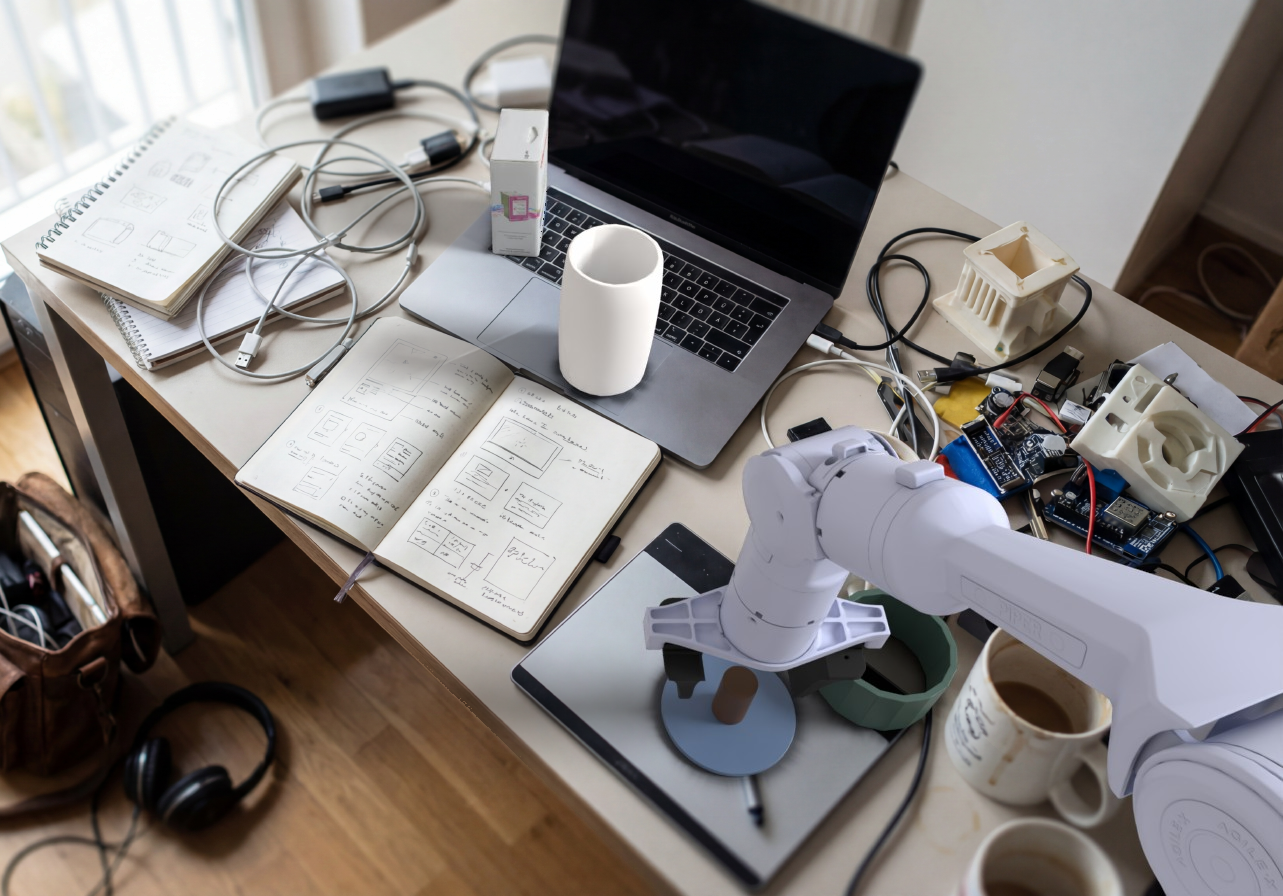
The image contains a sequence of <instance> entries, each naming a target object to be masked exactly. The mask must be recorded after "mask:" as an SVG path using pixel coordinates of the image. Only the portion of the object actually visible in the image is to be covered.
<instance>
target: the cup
mask: <svg viewBox="0 0 1283 896" xmlns="http://www.w3.org/2000/svg"><path fill="white" fill-rule="evenodd" d="M564 261H565V262H564V267H563V272H562V278H561V285H560V294H559V308H558V309H559V310H558V362H559V370H560V372H561V375H562V377H563V378H564V379H565V380H566V381H567V382H568V384H569V385H571V386H572V387H574V388H575V389H577V390H579V391H582V392H584V393H587V394H589V395H593V396H598V397H608V396H609V397H610V396H615V395H619V394H620V395H621V394H624V393H625V392H627V391H630V390H631V389H633V388H634V387H636V386H637V385H638V384H639V383H641V381H642V378H643V377H644V375H645V371H646V368H647V364H648V361H649V356H650V352H651V349H652V345H653V339H654V336H655V330H656V325H657V319H658V315H659V309H660V303H661V297H662V286H663V275H664V274H663V273H664V256H663V251H662V248H661V246H660V245H659V243H658V242H657V241H656V240H655V239H654V238H652V237H651V236H650V235H649V234H647V233H645V232H644V231H643V230H640V229H638V228H636V227H632V226H628V225H623V224H617V223H613V224H612V223H611V224H602V225H597V226H592V227H590V228H588V229H586V230H583V231H582V232H580V233H578V234H577V235H576V236H574V238H572V240H571V241H570V243H569V245H568V247H567V251H566V256H565V260H564Z"/></svg>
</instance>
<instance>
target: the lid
mask: <svg viewBox="0 0 1283 896" xmlns="http://www.w3.org/2000/svg"><path fill="white" fill-rule="evenodd" d="M702 660H703V667H704V673H705V680H706V681H700V682H699V683H697V685H696V686H695V688H694V691H693V694H692V697H691V698H690V699H680V698H679V697H678V691H677V684H676V683H675V682H674V681H669V680H668V678H667V679H666V681H665V683H664V686H663V689H662V692H661V693H662V694H661V701H660V711H661V717H662V722H663V725H664V728H665V730H666V732H667V734H668V736H669V738H670V739H671V741H672V743H673V744H674V745H675V747H676V748H677V749H678V751H679V752H680V753H682V754H683V756H685V758H687V759H688V760H689V761H690V762H692V763H693V764H695V765H697V766H698V767H700V768H702V769H704V770H706V771H708V772H711V773H714V774H716V775H721V776H726V777H735V778H736V777H748V776H749V777H750V776H753V775H757V774H760V773H763V772H765V771H766V770H768V769H770V768H772V767H773V766H774V765H776V764H777V763H778V762H779V761H780V760H781V759H782V758H783V757H784V756H785V754H786V753H787V751H788V750H789V749H790V746H791V744H792V742H793V740H794V736H795V732H796V727H797V720H796V719H797V716H796V709H795V705H794V701H793V698H792V697H791V694H790V691H789V690H788V688H787V687H786V685H785V683H784V682H783V680H782V678H780V677H779V676H778V675H777V674H776V672H770V671H762V670H758V669H754V668H751V667H748V666H745V665H742V664H738V663H735V662H732V661H729V660H725V659H722V658H719V657H716V656H713V655H709V654H706V653H703V654H702Z"/></svg>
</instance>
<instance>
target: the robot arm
mask: <svg viewBox="0 0 1283 896" xmlns="http://www.w3.org/2000/svg"><path fill="white" fill-rule="evenodd" d="M741 474H742V475H741V489H742V496H743V497H742V498H743V502H744V506H745V510H746V513H747V516H748V518H749V521H750V523H749V526H748V529H747V531H746V535H745V538H744V540H743V543H742V546H741V549H740V552H739V554H738V557H737V560H736V562H735V565H734V568H733V571H732V574H731V576H730V578H729V579H730V580H729V582H728V584H726V585H723V586H720V587H718V588H714V589H712V590H709V591H706V592H703V593H700V594H697V595H694V596H691V597H667V598H665V599H663V600H662V601H661V602H660V603H659V605H658V606H647V607H646V608H645V613H644V616H643V620H642V624H643V635H644V636H643V637H644V643H645V644H644V645H645V650H647V651H659V650H661V652H662V660H663V668H664V672H665V675H666V677H667V679H668V680H669V681H674V682H675V683H676V684H677V691H678V697H679V698H680V699H690V698H691V697H692V694H693V691H694V688H695V686H696V685H697V683H699V682H700V681H706V680H705V673H704V667H703V660H702V654H703V653H706V654H709V655H713V656H716V657H719V658H722V659H725V660H729V661H732V662H735V663H738V664H742V665H745V666H748V667H751V668H754V669H758V670H762V671H770V672H774V673H777V672H782V671H783V672H784V671H787V676H788V681H789V685H790V690H791V695H792V699H803V698H806V697H809V695H811V694H813V693H815V692H816V691H819V690H818V689H820V688H822V687H824V686H826V685H829V684H832V683H835V682H839V681H844V680H859V679H862V676H863V675H864V673H865V671H866V669H867V663H866V658H865V654H864V650H863V647H864V648H866V649H882V647H883V646H884V645H885V643H886V641H887V640H888V638H889V637H890V635H891V634H890V630H889V626H888V623H887V619H886V616H885V612H884V608H883V606H882V605H866V604H860V603H856V602H852V601H848V600H844V599H845V598H841V597H838V595H839V593H840V592H841V590H842V587H843V585H844V584H845V582H846V580H847V578H848V576H849V575H850V573H851V574H852V575H854V576H856V577H858V578H860V579H862V580H863V581H865V582H867V583H868V584H870V585H872V586H874V587H876V589H877V588H879V589H881V590H883V591H884V592H886V593H888V594H890V595H891V596H893V597H895V598H896V599H898V600H900V601H902V602H903V603H905V604H908V605H909V606H911V607H913V608H914V609H916V610H918V611H920V612H922V613H925V614H930V615H938V616H939V617H941V616H949V615H955V614H958V613H961V612H964V611H966V610H968V609H970V610H972V611H973V612H975V613H977V614H978V615H980V616H981V617H983V618H984V619H986V620H988V621H989V622H990V623H992V624H994V625H995V626H997V627H998V628H1000V629H1001V630H1003V631H1004V632H1006V633H1007V634H1009V635H1010V636H1012V637H1014V638H1015V639H1016V640H1018V641H1019V642H1021V643H1023V644H1024V645H1026V646H1027V647H1029V648H1030V649H1032V650H1033V651H1035V652H1037V653H1038V654H1040V655H1041V656H1043V657H1044V658H1046V659H1047V660H1049V661H1051V662H1052V663H1053V664H1055V665H1056V666H1058V667H1059V668H1061V669H1063V670H1064V671H1065V672H1067V673H1068V674H1070V675H1071V676H1073V677H1075V678H1076V679H1078V680H1079V681H1081V682H1083V683H1084V684H1086V685H1087V686H1088V687H1090V688H1091V689H1093V690H1095V691H1096V692H1098V694H1099V693H1100V694H1101V695H1102V696H1104V697H1105V698H1106V699H1108V701H1110V704H1111V724H1110V732H1109V740H1108V748H1107V759H1106V764H1107V765H1106V768H1107V769H1106V771H1107V783H1108V786H1109V789H1110V790H1111V791H1112V793H1113V794H1114V795H1115V796H1116V798H1117V799H1118V800H1119V799H1124V798H1126V797H1128V796H1131V795H1132V810H1133V817H1134V822H1135V827H1136V830H1137V835H1138V839H1139V842H1140V845H1141V848H1142V850H1143V853H1144V856H1145V858H1146V860H1147V862H1148V865H1149V866H1150V867H1149V868H1151V871H1152V872H1153V875H1154V876H1155V878H1156V879H1157V881H1158V882H1159V885H1160V886H1161V888H1162V890H1163V892H1164V894H1165V896H1283V605H1277V604H1271V603H1263V602H1256V601H1249V600H1242V599H1237V598H1232V597H1228V596H1223V595H1219V594H1217V593H1213V592H1210V591H1207V590H1204V589H1200V588H1197V587H1194V586H1191V585H1188V584H1186V583H1181V582H1178V581H1175V580H1172V579H1169V578H1166V577H1162V576H1159V575H1157V574H1154V573H1149V572H1146V571H1143V570H1140V569H1137V568H1135V567H1131V566H1128V565H1124V564H1122V563H1118V562H1115V561H1112V560H1108V559H1105V558H1102V557H1099V556H1097V555H1092V554H1090V553H1088V552H1087V553H1086V552H1083V551H1080V550H1077V549H1074V548H1070V547H1068V546H1064V545H1061V544H1058V543H1055V542H1051V541H1048V540H1045V539H1042V538H1039V537H1035V536H1033V535H1029V534H1026V533H1023V532H1020V531H1017V530H1014V529H1012V528H1011V524H1010V521H1009V516H1008V514H1007V513H1006V510H1005V508H1004V507H1003V506H1002V504H1001V503H1000V502H999V500H998V499H997V498H996V497H995V496H994V495H993V494H991V493H990V492H988V491H986V490H985V489H982V488H980V487H977V486H974V485H972V484H970V483H967V482H964V481H961V480H959V479H956V478H953V477H950V476H948V475H946V474H945V467H944V465H943V464H940V463H938V462H935V461H932V460H929V459H926V458H922V459H919V460H916V461H913V462H909V461H908V460H907V461H906V460H904V459H901V458H900V457H899V455H898V454H897V452H896V450H895V449H894V448H893V447H892V445H891V443H890V442H888V440H887V439H885V438H884V437H883V436H882V435H880V434H879V433H877V432H876V431H871V430H866V429H864V428H862V427H860V426H857V425H854V424H852V425H851V424H850V425H845V426H842V427H839V428H838V427H837V428H835V429H831V430H828V431H825V432H822V433H819V434H815V435H812V436H809V437H806V438H802V439H799V440H795V441H793V442H789V443H786V444H783V445H780V446H776V447H773V448H769V449H766V450H764V451H761V453H760V454H758V455H751V457H749V458H748V459H747V460H746V462H745V463H744V466H743V469H742V473H741Z"/></svg>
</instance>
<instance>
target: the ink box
mask: <svg viewBox="0 0 1283 896" xmlns="http://www.w3.org/2000/svg"><path fill="white" fill-rule="evenodd" d="M549 115H550V114H549V111H548V110H547V109H537V108H501V110H500V114H499V118H498V123H497V127H496V131H495V135H494V139H493V144H492V148H491V153H490V157H489V179H490V211H491V237H492V238H491V239H492V242H491V243H492V244H491V245H492V254H494V255H505V256H518V257H531V258H536V257H538V256H540V250H541V245H542V239H543V231H544V225H545V218H546V211H547V205H546V206H545V203H546V204H547V192H546V191H548V190H547V187H548V186H547V184H548V183H547V181H548V151H549V150H548V145H549V144H548V141H549V138H548V137H549V117H550V116H549ZM544 211H545V214H544ZM543 218H544V220H543ZM542 225H543V226H542ZM541 231H542V232H541ZM540 237H541V238H540Z"/></svg>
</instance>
